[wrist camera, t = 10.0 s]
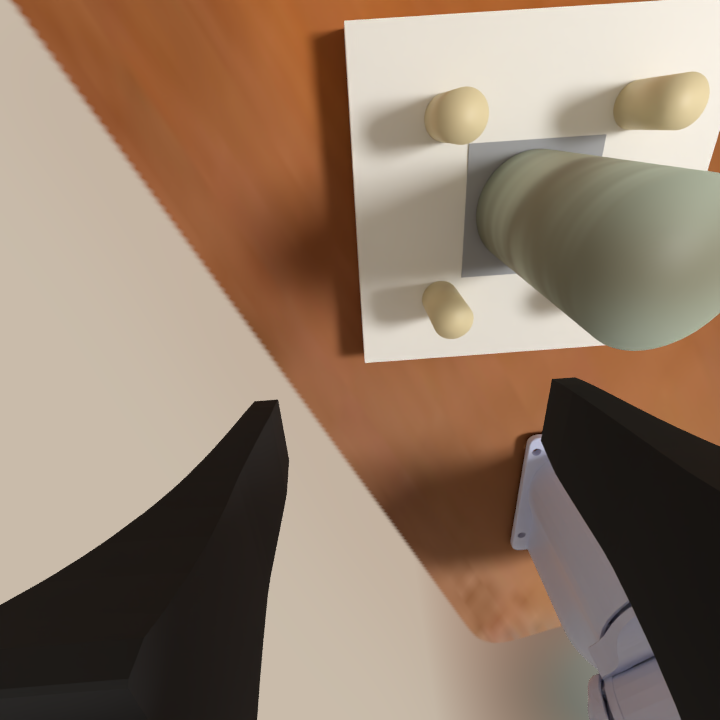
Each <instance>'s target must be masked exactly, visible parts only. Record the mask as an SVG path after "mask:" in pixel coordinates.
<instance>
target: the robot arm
mask: <svg viewBox="0 0 720 720" xmlns="http://www.w3.org/2000/svg"><path fill="white" fill-rule="evenodd" d="M535 449H537V450H536V451H533V450H535ZM288 467H289V457H288V452H287V446H286V441H285V436H284V430H283V425H282V419H281V414H280V408H279V402H278V400H267V401H255V402H254V403H253V404H252V405H251V406H250V407H249V408H248V410H247V411H246V412H245V413H244V414H243V415H242V417H241V418H240V419H239V420H238V421H237V423H236V424H235V425H234V426H233V427H232V428H231V430H230V431H229V432H228V433H227V434H226V435H225V437H224V438H223V439H222V440H221V441H220V442H219V443H218V444H217V446H216V447H215V448H214V449H213V450H212V451H211V452H210V453H209V454H208V455H207V456H206V457H205V458H204V460H202V462H200V463H199V464H198V465H197V467H195V468H194V469H193V470H192V471H191V473H190V474H189V475H188V476H187V477H186V478H184V479H183V480H182V481H181V482H180V483H179V484H178V485H177V486H176V487H175V488H173V489H172V490H171V491H170V492H169V493H168V494H166V495H165V496H164V497H163V498H162V499H161V500H159V501H158V502H157V503H156V504H155V505H154V506H152V507H151V508H150V509H148V510H147V511H146V512H145V513H143V514H142V515H141V516H139V517H138V518H137V519H135V520H134V521H132V522H131V523H130V524H128V525H127V526H126V527H124V528H123V529H122V530H120V531H119V532H118V533H116V534H115V535H114V536H112V537H111V538H109V539H108V540H107V541H105V542H104V543H102V544H101V545H99V546H98V547H96V548H95V549H93V550H92V551H90V552H89V553H87V554H86V555H84V556H83V557H81V558H80V559H78V560H77V561H75V562H73V563H72V564H70V565H68V566H67V567H65V568H64V569H62V570H60V571H59V572H57V573H56V574H54V575H52V576H51V577H49V578H47V579H46V580H44V581H43V582H41V583H39V584H37V585H35V586H34V587H32V588H30V589H28V590H26V591H25V592H23V593H21V594H19V595H17V596H16V597H14V598H12V599H10V600H8V601H7V602H5V603H3V604H1V605H0V720H257V712H258V699H259V684H260V672H261V661H262V650H263V638H264V628H265V617H266V606H267V597H268V589H269V583H270V577H271V571H272V566H273V561H274V556H275V551H276V546H277V541H278V536H279V531H280V526H281V521H282V516H283V511H284V505H285V500H286V495H287V482H288ZM510 542H511V545H512V548H513V549H515V550H525V549H528V551H529V553H530V555H531V558H532V560H533V562H534V564H535V567H536V569H537V571H538V573H539V576H540V578H541V580H542V582H543V584H544V587H545V589H546V591H547V593H548V596H549V598H550V600H551V602H552V605H553V607H554V609H555V611H556V614H557V616H558V618H559V620H560V622H561V625H562V627H563V629H564V631H565V633H566V635H567V637H568V638H569V640H570V642H571V643H572V645H573V646H574V647H575V648H576V650H577V651H578V652H579V653H580V654H581V655H582V656H583V657H584V658H585V659H586V660H587V661H588V662H589V663H590V664H592V665H593V666H594V667H595V668H597V669H598V671H599V674H596V675H594V676H593V677H592V678H591V679H590V680H589V683H588V714H589V719H590V720H720V446H717V445H715V444H713V443H710V442H708V441H706V440H703V439H701V438H699V437H697V436H695V435H692V434H690V433H688V432H686V431H684V430H681V429H679V428H677V427H675V426H673V425H671V424H669V423H667V422H665V421H662V420H660V419H658V418H656V417H654V416H652V415H650V414H648V413H646V412H644V411H642V410H640V409H638V408H636V407H635V406H633V405H631V404H629V403H627V402H625V401H623V400H621V399H619V398H617V397H615V396H613V395H611V394H609V393H607V392H605V391H603V390H601V389H599V388H597V387H595V386H593V385H591V384H589V383H587V382H585V381H583V380H580V379H578V378H562V379H552V382H551V388H550V393H549V399H548V404H547V409H546V415H545V420H544V426H543V431H542V434H537V435H533V436H531V437H530V438H529V439H528V441H527V444H526V450H525V456H524V462H523V469H522V475H521V481H520V487H519V493H518V499H517V505H516V511H515V517H514V523H513V529H512V535H511V541H510Z"/></svg>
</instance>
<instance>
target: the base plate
mask: <svg viewBox="0 0 720 720" xmlns="http://www.w3.org/2000/svg"><path fill="white" fill-rule="evenodd" d="M344 39H345V55H346V71H347V88H348V104H349V120H350V136H351V153H352V169H353V185H354V201H355V218H356V234H357V250H358V267H359V283H360V299H361V315H362V332H363V348H364V358H365V363H370V362H383V361H397V360H410V359H424V358H437V357H451V356H465V355H478V354H492V353H505V352H519V351H532V350H546V349H559V348H573V347H586V346H600V345H605V344H603V343H601V342H599V341H598V340H596V339H595V338H594V337H593V336H591V335H590V334H589V333H588V332H587V331H585V330H584V329H583V328H582V327H580V326H579V325H578V324H577V323H576V322H574V321H573V320H572V319H571V318H570V317H568V316H567V315H566V314H565V313H564V312H562V311H561V310H560V309H559V308H557V307H556V306H555V305H554V304H553V303H551V302H550V301H549V300H548V299H547V298H545V297H544V296H543V295H542V294H540V293H539V292H538V291H537V290H536V289H534V288H533V287H532V286H531V285H530V284H528V283H527V282H526V281H525V280H524V279H522V278H521V277H520V276H519V275H517V274H516V273H515V272H514V271H513V270H511V269H510V268H509V267H508V266H507V265H505V264H504V263H503V262H502V261H501V260H499V259H498V258H497V257H496V256H494V255H493V254H492V253H491V252H490V251H489V250H488V249H487V248H486V247H485V245H484V244H483V242H482V241H481V238H480V236H479V233H478V230H477V224H476V211H477V205H478V200H479V197H480V195H481V192H482V190H483V188H484V186H485V184H486V182H487V181H488V179H489V178H490V176H491V175H492V174H493V173H494V172H495V170H496V169H497V168H498V167H499V166H500V165H502V164H503V163H504V162H505V161H507V160H508V159H510V158H511V157H513V156H515V155H517V154H519V153H521V152H524V151H528V150H532V149H551V150H559V151H566V152H573V153H580V154H587V155H595V156H602V157H609V158H616V159H623V160H631V161H638V162H645V163H652V164H659V165H667V166H674V167H681V168H688V169H695V170H703V171H707V170H708V167H709V163H710V160H711V157H712V153H713V150H714V147H715V144H716V140H717V137H718V134H719V131H720V0H662V1H647V2H631V3H615V4H600V5H584V6H568V7H553V8H537V9H521V10H506V11H490V12H475V13H459V14H443V15H428V16H412V17H396V18H381V19H365V20H349V21H344Z"/></svg>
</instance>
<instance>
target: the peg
mask: <svg viewBox="0 0 720 720" xmlns="http://www.w3.org/2000/svg"><path fill="white" fill-rule="evenodd" d="M476 224H477V230H478V233H479V236H480V238H481V241H482V242H483V244H484V245H485V247H486V248H487V249H488V250H489V251H490V252H491V253H492V254H493V255H494V256H496V257H497V258H498V259H499V260H501V261H502V262H503V263H504V264H505V265H507V266H508V267H509V268H510V269H511V270H513V271H514V272H515V273H516V274H517V275H519V276H520V277H521V278H522V279H524V280H525V281H526V282H527V283H528V284H530V285H531V286H532V287H533V288H534V289H536V290H537V291H538V292H539V293H540V294H542V295H543V296H544V297H545V298H547V299H548V300H549V301H550V302H551V303H553V304H554V305H555V306H556V307H557V308H559V309H560V310H561V311H562V312H564V313H565V314H566V315H567V316H568V317H570V318H571V319H572V320H573V321H574V322H576V323H577V324H578V325H579V326H580V327H582V328H583V329H584V330H585V331H587V332H588V333H589V334H590V335H591V336H593V337H594V338H595V339H596V340H598V341H599V342H601V343H603V344H605V345H607V346H610V347H612V348H616V349H621V350H630V351H638V350H648V349H654V348H658V347H662V346H665V345H668V344H671V343H674V342H676V341H678V340H680V339H682V338H685V337H687V336H688V335H690V334H692V333H693V332H695V331H697V330H698V329H700V328H701V327H703V326H704V325H706V324H707V323H708V322H709V321H711V320H712V319H713V318H714V317H715V316H717V315H718V314H719V313H720V173H717V172H710V171H703V170H695V169H688V168H681V167H674V166H667V165H659V164H652V163H645V162H638V161H631V160H623V159H616V158H609V157H602V156H595V155H587V154H580V153H573V152H566V151H559V150H551V149H532V150H528V151H524V152H521V153H519V154H517V155H515V156H513V157H511V158H510V159H508V160H507V161H505V162H504V163H503V164H502V165H500V166H499V167H498V168H497V169H496V170H495V172H494V173H493V174H492V175H491V176H490V178H489V179H488V181H487V182H486V184H485V186H484V188H483V190H482V192H481V195H480V197H479V200H478V205H477V211H476Z"/></svg>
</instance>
